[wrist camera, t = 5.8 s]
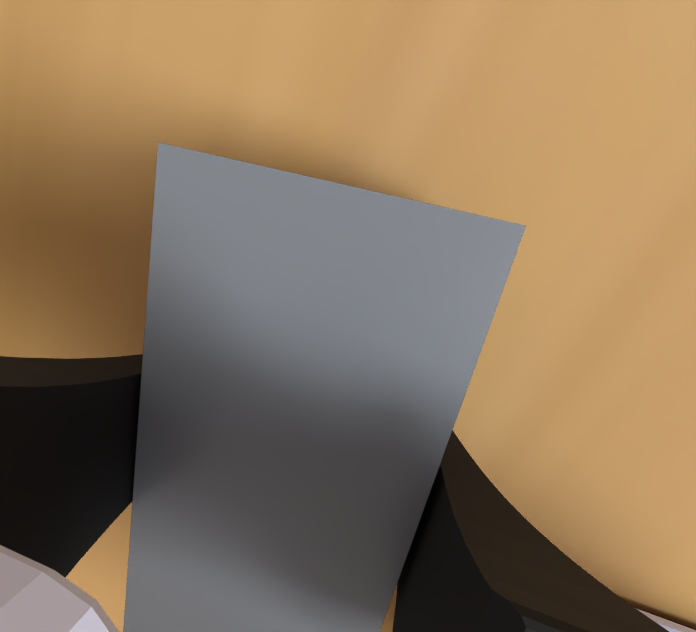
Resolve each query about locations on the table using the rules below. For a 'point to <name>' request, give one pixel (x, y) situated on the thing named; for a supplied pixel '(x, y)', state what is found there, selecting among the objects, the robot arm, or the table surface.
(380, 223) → the tall grey brick
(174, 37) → the table surface
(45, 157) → the table surface
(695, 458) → the table surface
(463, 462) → the robot arm
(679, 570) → the table surface
